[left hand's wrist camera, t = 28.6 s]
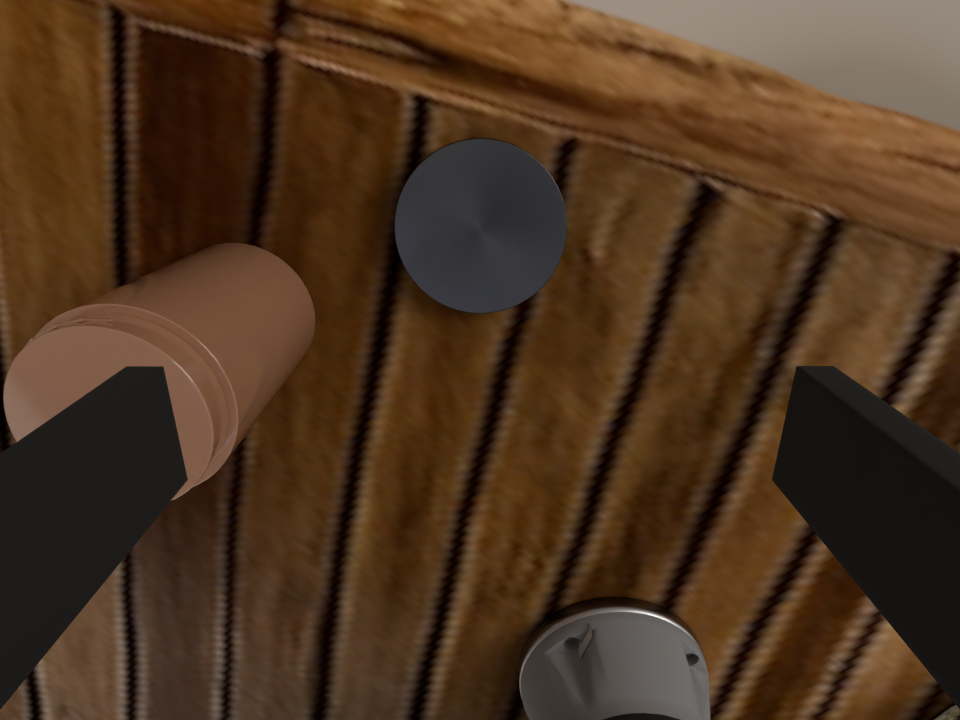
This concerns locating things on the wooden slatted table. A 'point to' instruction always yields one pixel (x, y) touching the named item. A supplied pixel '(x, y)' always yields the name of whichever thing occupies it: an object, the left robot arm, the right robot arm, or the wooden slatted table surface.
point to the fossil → (950, 714)
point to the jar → (177, 348)
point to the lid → (480, 225)
